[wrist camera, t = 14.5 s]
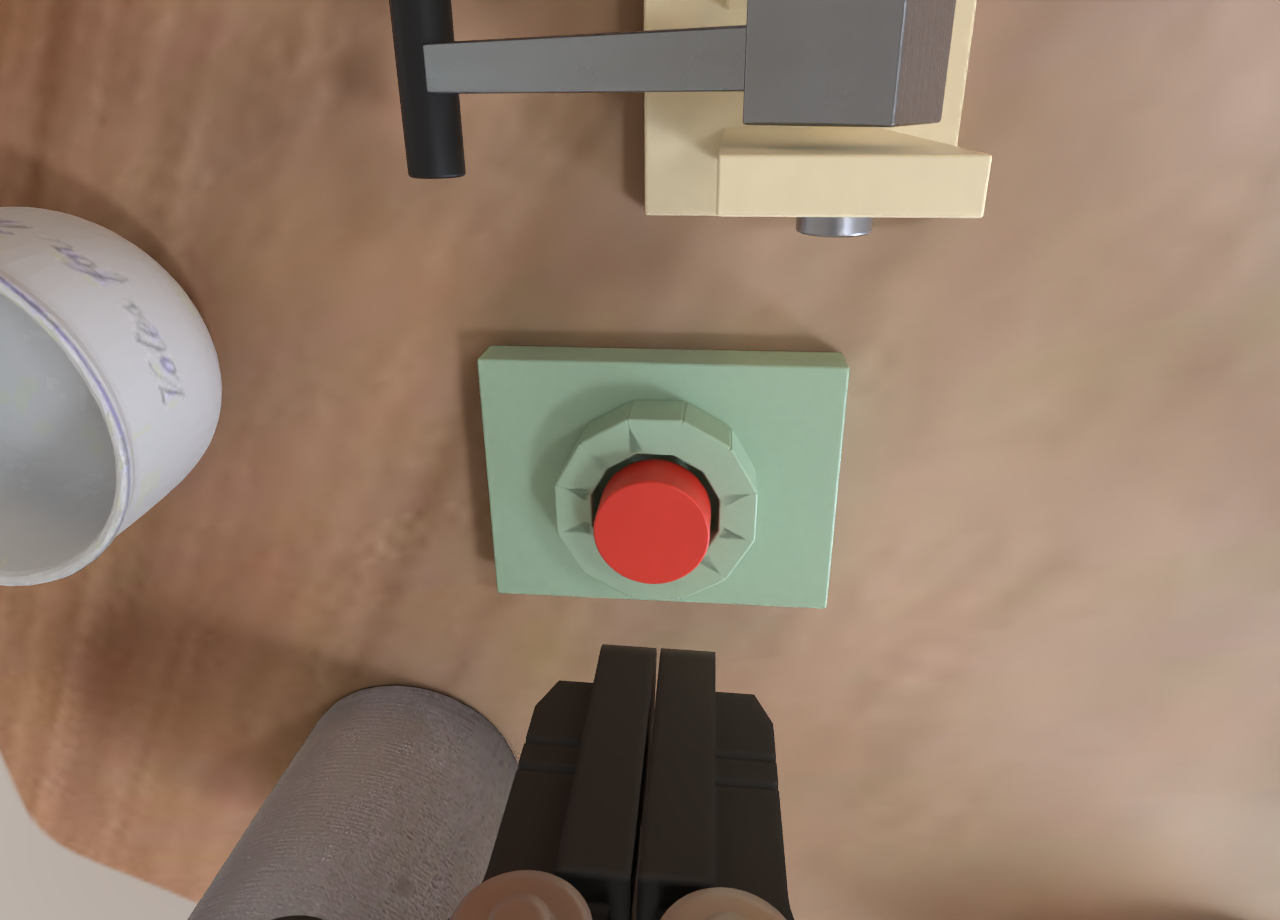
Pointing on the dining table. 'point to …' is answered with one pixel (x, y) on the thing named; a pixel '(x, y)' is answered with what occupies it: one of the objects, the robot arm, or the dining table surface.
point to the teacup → (91, 390)
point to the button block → (672, 431)
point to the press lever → (686, 67)
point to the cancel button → (653, 522)
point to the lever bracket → (804, 150)
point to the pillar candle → (373, 816)
